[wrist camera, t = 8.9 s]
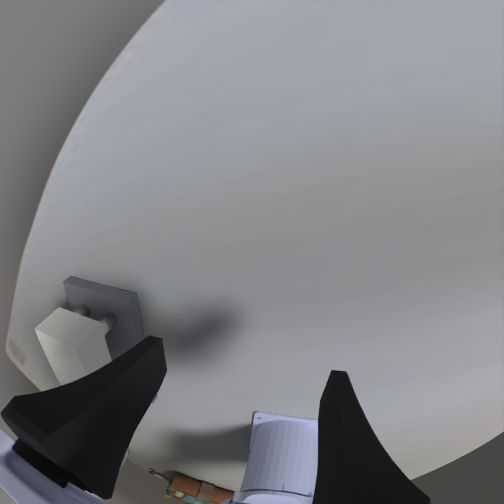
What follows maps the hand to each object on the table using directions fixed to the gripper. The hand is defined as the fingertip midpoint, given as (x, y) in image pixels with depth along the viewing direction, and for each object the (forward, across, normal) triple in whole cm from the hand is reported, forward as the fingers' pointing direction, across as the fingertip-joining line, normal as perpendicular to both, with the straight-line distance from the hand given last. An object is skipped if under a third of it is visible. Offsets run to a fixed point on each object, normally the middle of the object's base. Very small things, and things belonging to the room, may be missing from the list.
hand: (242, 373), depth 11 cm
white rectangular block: (+6, +15, +11) cm, 19 cm away
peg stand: (+9, +15, +11) cm, 21 cm away
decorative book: (+10, +10, +49) cm, 51 cm away
